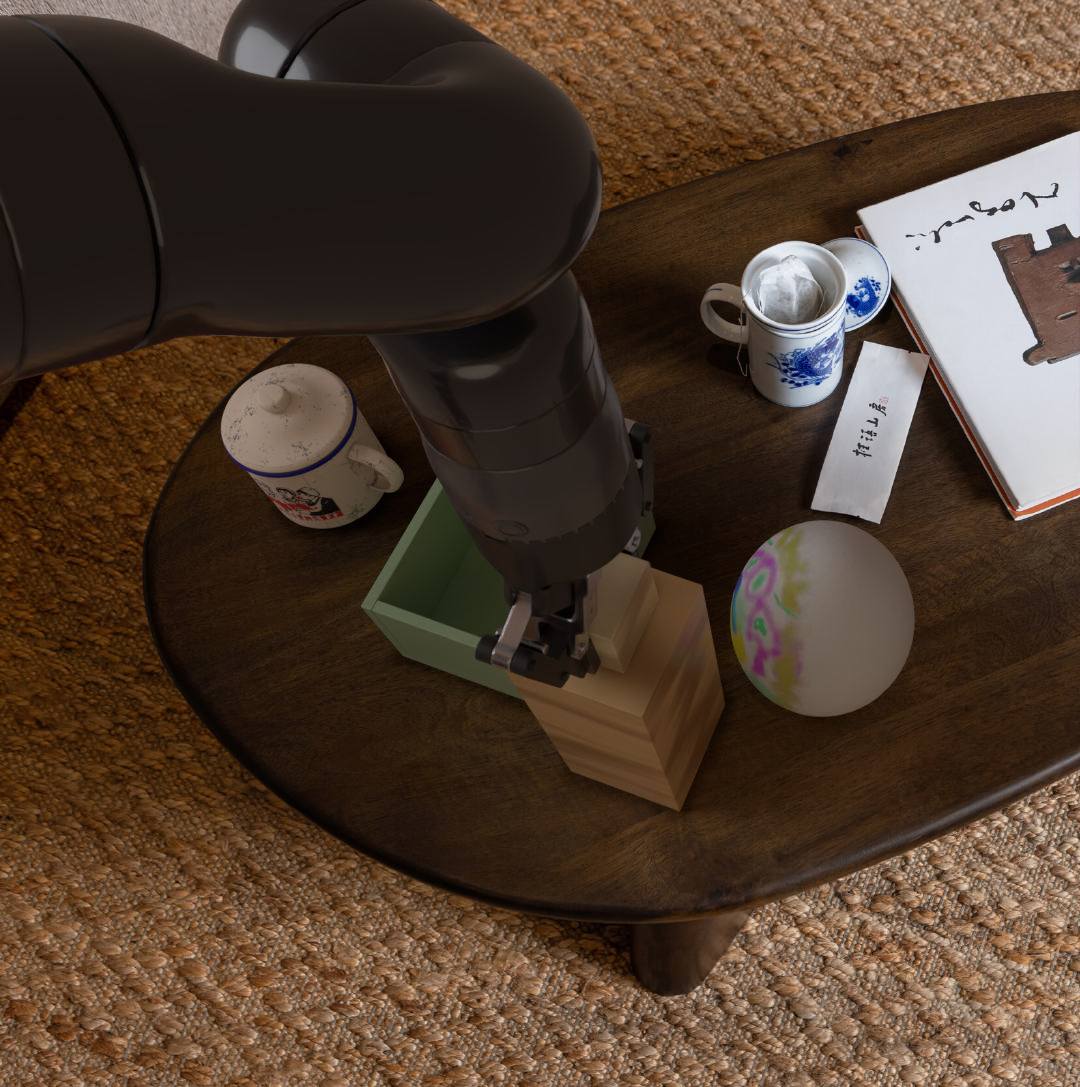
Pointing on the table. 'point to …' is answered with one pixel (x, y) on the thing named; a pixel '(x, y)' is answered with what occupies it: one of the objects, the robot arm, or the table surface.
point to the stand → (642, 704)
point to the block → (622, 609)
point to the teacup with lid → (308, 445)
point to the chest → (446, 594)
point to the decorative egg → (822, 618)
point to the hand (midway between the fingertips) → (601, 619)
